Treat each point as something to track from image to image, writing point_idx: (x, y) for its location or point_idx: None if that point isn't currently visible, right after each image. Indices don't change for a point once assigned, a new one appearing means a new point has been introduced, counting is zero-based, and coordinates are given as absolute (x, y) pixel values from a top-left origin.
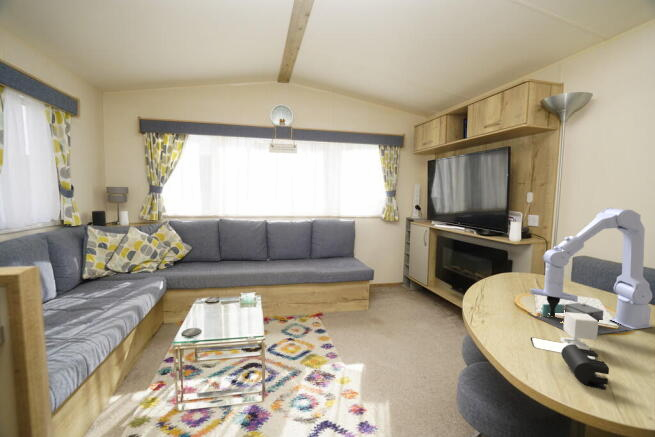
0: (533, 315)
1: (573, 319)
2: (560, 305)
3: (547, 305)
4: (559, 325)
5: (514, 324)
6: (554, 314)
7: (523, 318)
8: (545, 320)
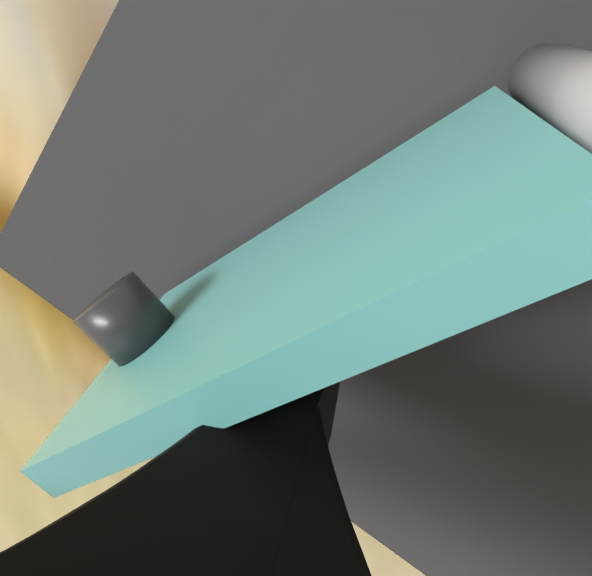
0: None
1: None
2: (530, 279)
3: (134, 444)
4: (387, 491)
5: None
6: (327, 440)
7: (33, 424)
8: None
